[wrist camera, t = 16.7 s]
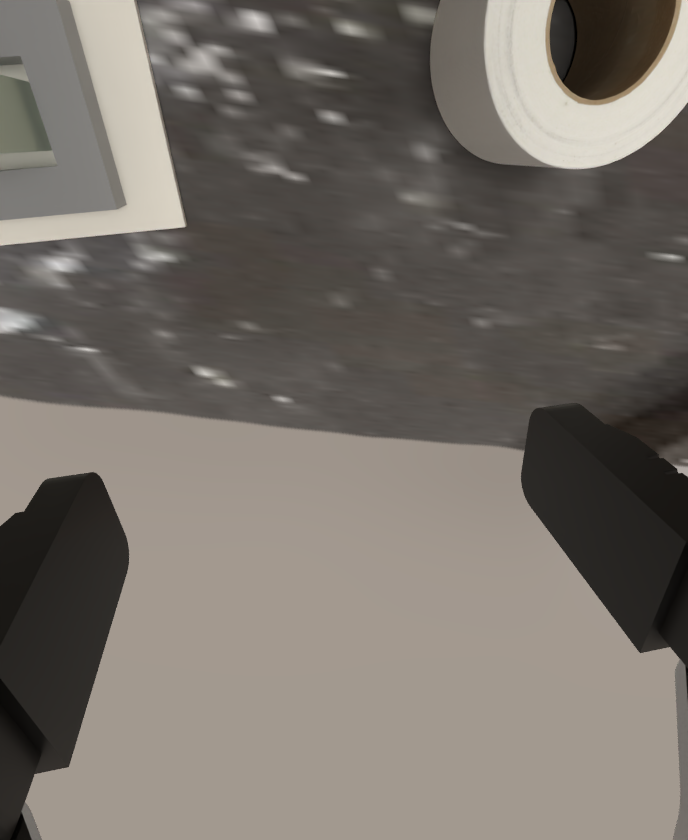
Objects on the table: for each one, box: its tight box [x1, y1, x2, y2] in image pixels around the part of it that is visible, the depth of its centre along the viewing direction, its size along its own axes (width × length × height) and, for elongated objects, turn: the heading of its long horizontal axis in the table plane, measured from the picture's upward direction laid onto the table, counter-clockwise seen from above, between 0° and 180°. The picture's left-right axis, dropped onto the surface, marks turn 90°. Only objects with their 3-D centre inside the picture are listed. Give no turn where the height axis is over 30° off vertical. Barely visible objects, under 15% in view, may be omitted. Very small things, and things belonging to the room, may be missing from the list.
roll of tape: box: [430, 0, 688, 169], centre depth 32 cm, size 16×15×11 cm
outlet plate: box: [0, 0, 187, 245], centre depth 32 cm, size 20×16×4 cm
